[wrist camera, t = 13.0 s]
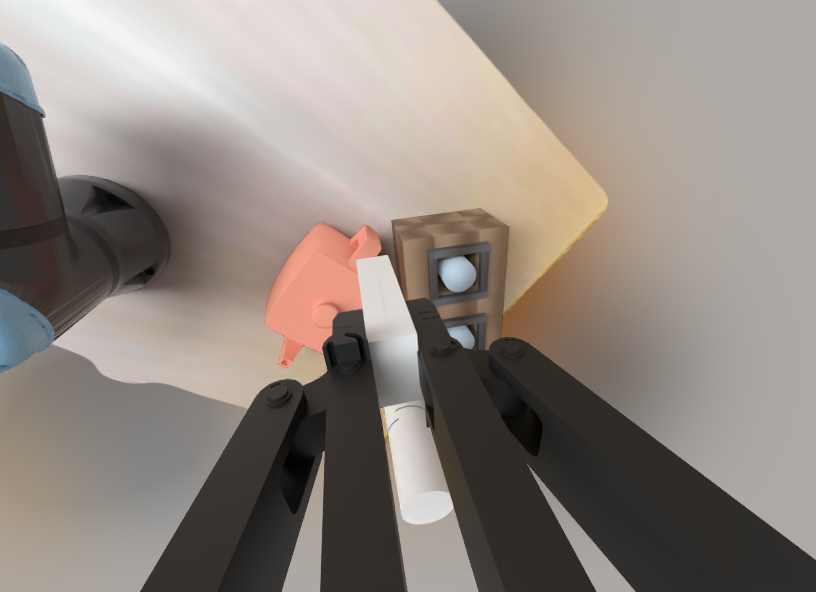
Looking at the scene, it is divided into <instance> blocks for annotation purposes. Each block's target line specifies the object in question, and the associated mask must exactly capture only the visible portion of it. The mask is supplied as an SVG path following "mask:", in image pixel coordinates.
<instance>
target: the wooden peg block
mask: <svg viewBox="0 0 816 592" xmlns="http://www.w3.org/2000/svg"><path fill="white" fill-rule="evenodd" d="M391 221H392V230H393V240H394V249H395V259H396V268H397V278H398V284H399V287H400V289H401V292H402V295H403V298H404V300H405V301H407V300H413V299H419V298H427V299H428V300H430V301H431V302H433V303H434V305H435V307H436V309H437V311H438V313H439V315H440V317H441V319H442V320H443V322H444V324H445V326H446V328H447V329H448V328H453V327H459V326H465V325H467V327H468V329H469V330H470V332H471V333H472V335H473V337H474V339H475V343H474V346H473V348H472V349H474V350H489V346H490V345H491V343H492V342H493V341H495V340H497V339H500V338H501V333H502V318H503V304H504V290H505V276H506V262H507V248H508V234H509V227H508V226H507V225H505V224H504V223H502V222H501V221H499V220H498V219H496V218H494V217H493V216H491V215H490V214H488V213H487V212H485V211H483V210H482V209H480V208H479V209H472V210H464V211H457V212H449V213H442V214H434V215H427V216H419V217H412V218H404V219H396V220H391ZM459 255H464V257H465V258H466V259H467V260H468V261H469V262H470V263H471V264H472V265H473V266H474V268H475V270H476V279H475V281H474V283H473V285H472V286H471V287H470V288H468V289H467V290H465V291H462V292H454V291H451V290H449V289H448V288H447V287H446V285H445V284H444V282H443V281H442V279H441V277H440V276H439V274H438V273H437V259H439V258H445V257H452V256H459Z"/></svg>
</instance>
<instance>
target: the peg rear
mask: <svg viewBox="0 0 816 592" xmlns="http://www.w3.org/2000/svg"><path fill="white" fill-rule="evenodd" d="M447 330H448V332H449V334H450V336H451V337H453V338H455V339H457V340H458V341H459V342H460V343H461V344H462V346H463V347H464V348H468V349H472V348H473V346H474V343H475V339H474V337H473V335H472V333H471V332H470V330H469V329H468V327H467V325H465V326H459V327H453V328H448V329H447Z"/></svg>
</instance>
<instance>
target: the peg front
mask: <svg viewBox="0 0 816 592" xmlns="http://www.w3.org/2000/svg"><path fill="white" fill-rule="evenodd" d="M437 273H438V274H439V276H440V277H441V279H442V281H443V282H444V284H445V285H446V287H447V288H448V289H449V290H451V291H454V292H462V291H465V290H467V289H468V288H470V287H471V286H472V285H473V283H474V281H475V279H476V270H475V268H474V266H473V265H472V264H471V263H470V262H469V261H468V260H467V259H466V258H465V257H464V255H459V256H452V257H445V258H439V259H437Z"/></svg>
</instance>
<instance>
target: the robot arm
mask: <svg viewBox="0 0 816 592" xmlns="http://www.w3.org/2000/svg"><path fill="white" fill-rule="evenodd" d="M45 116H46V115H45V112H44V110H43V109H42V108H41V107H40V106H39V103H38V100H37V96H36V93H35V90H34V86H33V83H32V80H31V76H30V73H29V70H28V68H27V67H26V65H25V63H24V62H23V60H22V59H21V58H20V57H19V56H18V55H17V54H16V53H14V52H13V51H12V50H11V49H10V48H8V47H7V46H5V45H4V44H2V43H0V373H2V372H4V371H7V370H10V369H12V368H14V367H16V366H17V365H19V364H21V363H22V362H24V361H25V360H27V359H28V358H30V357H31V356H33V355H34V354H36V353H38V352H40V351H43V350H44V349H45V348H47V347H49V346H50V345H51V344H52V343H53V342H54V341H55V340H56V339H57V338H59V337H60V336H61V335H62V334H63V333H65V332H66V331H67V330H68V329H69V328H71V327H72V326H73V325H74V324H75V323H77V322H78V321H79V320H80V319H82V318H83V317H84V316H85V315H86V314H88V313H89V312H90V311H91V310H92V309H94V308H95V307H96V306H97V305H98V304H100V303H101V302H102V301H103V300H104V299H106V298H109V297H113V296H117V295H120V294H124V293H128V292H132V291H135V290H138V289H140V288H142V287H144V286H145V285H147V284H148V283H150V282H151V281H152V280H153V279H154V278H156V277H157V276H158V275H159V274H160V273H161V272H162V271H163V269H164V268H165V266H166V264H167V262H168V259H169V254H170V243H169V238H168V234H167V232H166V229H165V227H164V225H163V223H162V221H161V220H160V218H159V217H158V215H157V214H156V213H155V212H154V210H153V209H152V208H151V207H150V206H149V205H148V204H147V203H146V202H145V201H143V200H142V199H141V198H140V197H138V196H137V195H136V194H134V193H133V192H131V191H130V190H128V189H126V188H124V187H122V186H120V185H118V184H116V183H113V182H111V181H108V180H105V179H101V178H97V177H92V176H83V175H73V176H65V177H60V178H57V176H56V172H55V168H54V164H53V160H52V156H51V152H50V148H49V144H48V140H47V136H46V132H45V128H44V124H43V119H42V118H45ZM356 263H357V271H358V278H359V285H360V293H361V300H362V308H363V309H358V310H352V311H346V312H340V313H338V314H337V315H336V316H335V318H334V319H333V322H332V329H333V330H332V336H330V337H329V338H328V339H327V340H326V341H325V342H324V343H323V346H322V350H323V354H324V358H325V362H326V366H327V370H328V371H327V372H326V373H325V374H324V375H323V376H321V377H320V378H319V379H317V380H315V381H313V382H310V383H308V384H306V385H303V386H302V385H301V383H299V382H298V381H296V380H291V379H285V380H279V381H276V382H274V383H271V384H269V385H268V386H266V387H265V388H264V389H262V390H261V391H260V392H259V394H258V395H257V396H256V397H255V399H254V401H253V402H252V404H251V406H250V407H249V409H248V411H247V413H246V414H245V416H244V418H243V419H242V421H241V423H240V424H239V426H238V428H237V429H236V431H235V433H234V435H233V436H232V438H231V439H230V441H229V443H228V445H227V446H226V448H225V450H224V451H223V453H222V455H221V456H220V458H219V460H218V461H217V463H216V465H215V466H214V468H213V470H212V471H211V473H210V475H209V477H208V478H207V480H206V482H205V483H204V485H203V487H202V488H201V490H200V492H199V493H198V495H197V497H196V498H195V500H194V502H193V503H192V505H191V507H190V509H189V510H188V512H187V513H186V515H185V517H184V519H183V520H182V522H181V524H180V525H179V527H178V529H177V530H176V532H175V534H174V536H173V537H172V539H171V540H170V542H169V544H168V545H167V547H166V549H165V551H164V552H163V554H162V556H161V557H160V559H159V561H158V562H157V564H156V566H155V567H154V569H153V571H152V572H151V574H150V576H149V577H148V579H147V581H146V583H145V584H144V586H143V588H142V589H141V591H140V592H282V588H283V585H284V581H285V578H286V575H287V571H288V568H289V565H290V562H291V558H292V555H293V552H294V548H295V545H296V542H297V538H298V535H299V532H300V528H301V525H302V522H303V519H304V515H305V512H306V508H307V505H308V502H309V499H310V495H311V492H312V488H313V485H314V482H315V479H316V475H317V472H318V468H319V465H320V462H321V459H322V452H323V451H325V464H324V494H323V523H322V526H323V527H322V554H321V585H320V592H408V591H407V585H406V578H405V572H404V565H403V558H402V552H401V545H400V539H399V532H398V525H397V519H396V512H395V505H394V499H393V492H392V486H391V480H390V473H389V466H388V459H387V452H386V446H385V439H384V433H383V426H382V420H381V414H380V408H382V407H387V406H392V405H397V404H402V403H407V402H412V401H417V400H421V399H422V394H423V397H424V400H425V413H426V426H427V428H428V427H430V429H431V432H432V436H433V439H434V442H435V446H436V449H437V453H438V456H439V459H440V463H441V466H442V469H443V473H444V476H445V479H446V483H447V486H448V490H449V493H450V496H451V500H452V503H453V506H454V510H455V513H456V516H457V520H458V523H459V527H460V530H461V533H462V537H463V540H464V544H465V547H466V550H467V554H468V557H469V560H470V563H471V567H472V570H473V574H474V577H475V581H476V584H477V587H478V591H479V592H596V590H595V588H594V586H593V585H592V583H591V581H590V579H589V577H588V575H587V574H586V572H585V570H584V568H583V566H582V564H581V563H580V561H579V559H578V557H577V555H576V553H575V551H574V550H573V548H572V546H571V544H570V542H569V540H568V539H567V537H566V535H565V533H564V531H563V529H562V528H561V526H560V524H559V522H558V520H557V518H556V517H555V515H554V513H553V511H552V509H551V508H550V506H549V504H548V502H547V500H546V498H545V496H544V495H543V493H542V491H541V489H540V487H539V485H538V483H537V482H536V480H535V478H534V476H533V474H532V472H531V471H530V469H529V467H528V465H529V466H530V468H532V470H533V471H534V472H535V473H536V475H537V476H538V477H539V478H540V479H541V481H542V482H543V483H544V484H545V485H546V486H547V488H548V489H549V490H550V491H551V492H552V494H553V495H554V496H555V497H556V498H557V499H558V501H559V502H560V503H561V504H562V505H563V506H564V508H565V509H566V510H567V511H568V512H569V514H570V515H571V516H572V517H573V518H574V519H575V520H576V522H577V523H578V524H579V525H580V526H581V528H582V529H583V530H584V531H585V532H586V534H587V535H588V536H589V537H590V538H591V539H592V541H593V542H594V543H595V544H596V545H597V546H598V548H599V549H600V550H601V551H602V552H603V554H604V555H605V556H606V557H607V558H608V560H609V561H610V562H611V563H612V564H613V565H614V567H615V568H616V569H617V570H618V571H619V572H620V574H621V575H622V576H623V577H624V578H625V579H626V581H627V582H628V583H629V584H630V585H631V587H632V588H633V589H634V590H635V591H636V592H816V560H815V559H813V558H812V557H811V556H809V555H808V554H807V553H806V552H804V551H803V550H802V549H800V548H799V547H798V546H796V545H795V544H794V543H792V542H791V541H790V540H788V539H787V538H786V537H784V536H783V535H782V534H780V533H779V532H778V531H776V530H775V529H774V528H773V527H771V526H770V525H769V524H767V523H766V522H765V521H763V520H762V519H760V518H759V517H758V516H757V515H755V514H754V513H753V512H751V511H750V510H749V509H747V508H746V507H745V506H743V505H742V504H741V503H739V502H738V501H737V500H735V499H734V498H733V497H731V496H730V495H729V494H727V493H726V492H725V491H723V490H722V489H721V488H720V487H718V486H717V485H716V484H714V483H713V482H711V481H710V480H709V479H707V478H706V477H705V476H704V475H702V474H701V473H700V472H698V471H697V470H696V469H694V468H693V467H692V466H690V465H689V464H688V463H686V462H685V461H684V460H682V459H681V458H680V457H678V456H677V455H676V454H674V453H673V452H672V451H671V450H669V449H668V448H667V447H665V446H664V445H663V444H661V443H660V442H659V441H657V440H656V439H655V438H653V437H652V436H650V435H649V434H648V433H646V432H645V431H644V430H643V429H641V428H640V427H639V426H637V425H636V424H635V423H633V422H632V421H631V420H629V419H628V418H627V417H625V416H624V415H623V414H621V413H620V412H619V411H618V410H616V409H615V408H613V407H612V406H611V405H609V404H608V403H607V402H606V401H604V400H603V399H602V398H600V397H599V396H598V395H596V394H595V393H594V392H592V391H591V390H590V389H588V388H587V387H586V386H584V385H583V384H582V383H580V382H579V381H578V380H576V379H575V378H574V377H572V376H571V375H570V374H568V373H567V372H566V371H564V370H563V369H562V368H561V367H559V366H558V365H556V364H555V363H554V362H553V361H551V360H550V359H549V358H547V357H546V356H544V355H543V354H542V353H541V352H539V351H538V350H537V349H535V348H534V347H533V346H531V345H530V344H529V343H527V342H525V341H523V340H520V339H517V338H509V337H505V338H500V339H497V340H495V341H493V342H492V343H491V345H490V346H489V350H474V349H468V348H464V347H463V346H462V344H461V343H460V342H459V341H458V340H457V339H455V338H453V337H451V336H450V334H449V332H448V330H447V328H446V326H445V324H444V322H443V320H442V319H441V317H440V315H439V313H438V311H437V309H436V307H435V305H434V303H433V302H431V301H430V300H428V299H427V298H419V299H413V300H407V301H405V300H404V298H403V295H402V292H401V289H400V287H399V284H398V281H397V279H396V276H395V273H394V270H393V268H392V265H391V262H390V260H389V257H388V255H384V256H377V257H370V258H364V259H357V260H356ZM527 464H528V465H527Z"/></svg>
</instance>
